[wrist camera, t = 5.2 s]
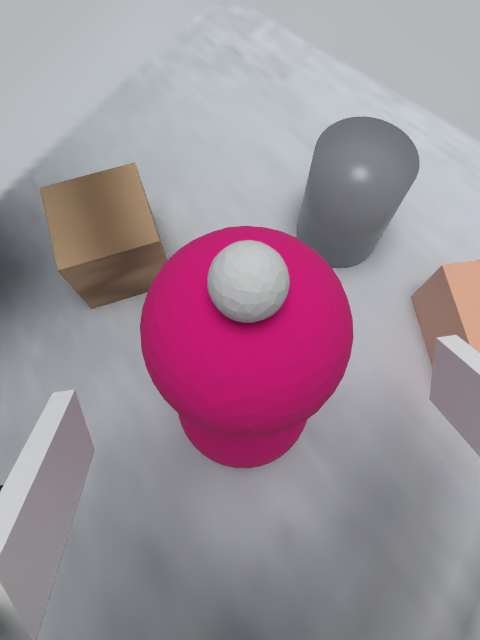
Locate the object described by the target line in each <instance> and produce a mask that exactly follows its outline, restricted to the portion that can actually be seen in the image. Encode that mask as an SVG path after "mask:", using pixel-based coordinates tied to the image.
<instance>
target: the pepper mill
mask: <svg viewBox="0 0 480 640" xmlns="http://www.w3.org/2000/svg"><path fill="white" fill-rule="evenodd" d="M140 333H141V347H142V353H143V357H144V361H145V365H146V368H147V370H148V372H149V374H150V377H151V379H152V381H153V383H154V385H155V386H156V388H157V389H158V391H159V392H160V394H161V395H162V397H163V398H164V399H165V400H166V401H167V402H168V403H169V404H170V405H171V406H172V407H173V408H174V409H175V410H176V411H177V412H178V414H179V418H180V421H181V424H182V427H183V429H184V431H185V433H186V435H187V437H188V438H189V440H190V441H191V442H192V444H193V445H194V446H195V447H196V448H197V449H198V450H199V451H200V452H201V453H202V454H203V455H205V456H206V457H208V458H210V459H211V460H213V461H215V462H217V463H220V464H222V465H226V466H230V467H234V468H252V467H258V466H261V465H264V464H267V463H270V462H272V461H274V460H275V459H277V458H279V457H281V456H282V455H283V454H284V453H285V452H287V451H288V450H289V449H290V448H291V447H292V446H293V445H294V443H295V442H296V441H297V439H298V438H299V436H300V434H301V432H302V431H303V429H304V427H305V424H306V421H307V419H308V418H309V417H311V416H312V415H313V414H315V413H316V412H317V411H318V410H319V409H320V408H321V407H322V406H323V404H324V403H325V402H326V401H327V400H328V399H329V397H330V396H331V395H332V394H333V393H334V392H335V390H336V388H337V386H338V385H339V383H340V381H341V380H342V378H343V376H344V373H345V370H346V367H347V364H348V361H349V358H350V355H351V348H352V342H353V321H352V315H351V311H350V306H349V302H348V299H347V296H346V294H345V292H344V289H343V287H342V285H341V282H340V280H339V279H338V277H337V276H336V274H335V273H334V271H333V270H332V268H331V267H330V265H329V264H328V263H327V262H326V261H325V260H324V259H323V258H322V257H321V256H320V255H319V254H318V253H317V252H316V251H315V250H313V249H312V248H310V247H309V246H307V245H306V244H305V243H303V242H302V241H300V240H299V239H297V238H295V237H293V236H291V235H288V234H286V233H284V232H281V231H277V230H273V229H269V228H264V227H252V226H240V227H228V228H224V229H221V230H217V231H214V232H211V233H209V234H206V235H204V236H202V237H199V238H197V239H195V240H193V241H192V242H190V243H188V244H187V245H185V246H184V247H182V248H181V249H179V250H178V251H177V252H176V253H175V254H174V255H173V256H172V257H171V258H170V259H169V260H168V261H167V262H166V263H165V264H164V265H163V267H162V268H161V270H160V271H159V273H158V274H157V276H156V277H155V279H154V280H153V282H152V284H151V287H150V289H149V291H148V294H147V297H146V300H145V303H144V306H143V309H142V316H141V323H140Z"/></svg>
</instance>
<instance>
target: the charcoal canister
mask: <svg viewBox="0 0 480 640" xmlns="http://www.w3.org/2000/svg"><path fill="white" fill-rule="evenodd" d="M418 170H419V156H418V152H417V149H416V147H415V145H414V144H413V142H412V140H411V139H410V138H409V137H408V136H407V135H406V134H405V133H404V132H403V131H402V130H400V129H399V128H398V127H396V126H394V125H393V124H391V123H388V122H386V121H383V120H380V119H376V118H371V117H352V118H347V119H343V120H341V121H338V122H336V123H334V124H332V125H331V126H329V127H328V128H327V129H326V130H325V131H324V132H323V133H322V134H321V136H320V137H319V139H318V141H317V143H316V146H315V150H314V155H313V159H312V163H311V168H310V172H309V176H308V181H307V185H306V189H305V194H304V198H303V202H302V207H301V211H300V215H299V220H298V224H297V238H298V239H299V240H300V241H302V242H303V243H305V244H306V245H307V246H309V247H310V248H312V249H313V250H315V251H316V252H317V253H318V254H319V255H320V256H321V257H322V258H323V259H324V260H325V261H326V262H327V263H328V264H329V265H330V267H334V268H346V267H351V266H354V265H357V264H359V263H361V262H362V261H364V260H365V259H366V258H367V257H368V256H369V255H370V254H371V253H372V251H373V249H374V248H375V246H376V244H377V242H378V241H379V239H380V237H381V236H382V234H383V232H384V231H385V229H386V227H387V226H388V224H389V222H390V221H391V219H392V217H393V216H394V214H395V212H396V211H397V209H398V207H399V205H400V204H401V202H402V200H403V199H404V197H405V195H406V194H407V192H408V190H409V189H410V187H411V185H412V184H413V182H414V180H415V179H416V176H417V174H418Z"/></svg>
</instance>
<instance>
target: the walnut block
mask: <svg viewBox="0 0 480 640" xmlns="http://www.w3.org/2000/svg"><path fill="white" fill-rule="evenodd" d="M40 190H41V195H42V199H43V204H44V209H45V213H46V218H47V223H48V228H49V232H50V237H51V242H52V246H53V251H54V256H55V261H56V265H57V270H58V272H59V273H60V274H61V275H62V276H63V277H64V278H65V279H66V280H67V282H68V283H69V284H70V285H71V286H72V287H73V288H74V289H75V290H76V292H77V293H78V294H79V295H80V296H81V297H82V298H83V299H84V300H85V302H86V303H87V304H88V305H89V306H90V307H91V308H92V309H93V308H96V307H99V306H103V305H106V304H109V303H113V302H116V301H119V300H122V299H126V298H129V297H132V296H136V295H139V294H142V293H146V292H148V291H149V289H150V287H151V284H152V282H153V280H154V279H155V277H156V276H157V274H158V273H159V271H160V270H161V268H162V267H163V265H164V264H165V263H166V262H167V259H166V256H165V253H164V250H163V247H162V243H161V240H160V237H159V234H158V231H157V228H156V224H155V221H154V218H153V215H152V212H151V209H150V206H149V203H148V200H147V197H146V194H145V191H144V188H143V185H142V182H141V179H140V176H139V173H138V170H137V167H136V164H135V163H131V164H127V165H124V166H120V167H116V168H112V169H109V170H105V171H101V172H97V173H94V174H90V175H86V176H82V177H79V178H75V179H71V180H67V181H64V182H60V183H56V184H52V185H49V186H45V187H41V188H40Z"/></svg>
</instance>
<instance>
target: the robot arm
mask: <svg viewBox="0 0 480 640" xmlns="http://www.w3.org/2000/svg"><path fill="white" fill-rule="evenodd" d="M430 400H431V402H432V403H433V404H434V405H435V406H436V407H437V408H438V410H439V411H440V412H441V413H442V414H443V415H444V416H445V418H446V419H447V420H448V421H449V422H450V423H451V424H452V425H453V427H454V428H455V429H456V430H457V431H458V432H459V433H460V435H461V436H462V437H463V438H464V439H465V440H466V441H467V443H468V444H469V445H470V446H471V447H472V448H473V449H474V451H475V452H476V453H477V454H478V455H479V456H480V353H479V352H478V351H477V350H475V349H474V348H473V347H471V346H470V345H469V344H468V343H466V342H465V341H464V340H462V339H461V338H460V337H459V336H457V335H451V336H444V337H437V338H436V343H435V353H434V362H433V371H432V381H431V390H430ZM93 453H94V447H93V444H92V441H91V437H90V434H89V431H88V428H87V425H86V422H85V419H84V416H83V413H82V410H81V407H80V404H79V400H78V397H77V394H76V391H75V389H74V390H68V391H61V392H54V393H52V395H51V397H50V399H49V401H48V403H47V405H46V406H45V408H44V410H43V412H42V414H41V416H40V418H39V420H38V422H37V423H36V425H35V427H34V429H33V431H32V433H31V435H30V437H29V438H28V440H27V442H26V444H25V446H24V448H23V450H22V452H21V454H20V455H19V457H18V459H17V461H16V463H15V465H14V467H13V469H12V471H11V472H10V474H9V476H8V478H7V480H6V482H5V484H4V485H1V486H0V640H37V636H38V633H39V630H40V627H41V623H42V620H43V617H44V614H45V610H46V607H47V604H48V600H49V597H50V594H51V591H52V587H53V584H54V581H55V578H56V574H57V571H58V568H59V564H60V561H61V558H62V555H63V551H64V548H65V545H66V542H67V538H68V535H69V532H70V529H71V525H72V522H73V519H74V515H75V512H76V509H77V506H78V502H79V499H80V496H81V493H82V489H83V486H84V483H85V479H86V476H87V473H88V470H89V466H90V463H91V460H92V457H93Z"/></svg>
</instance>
